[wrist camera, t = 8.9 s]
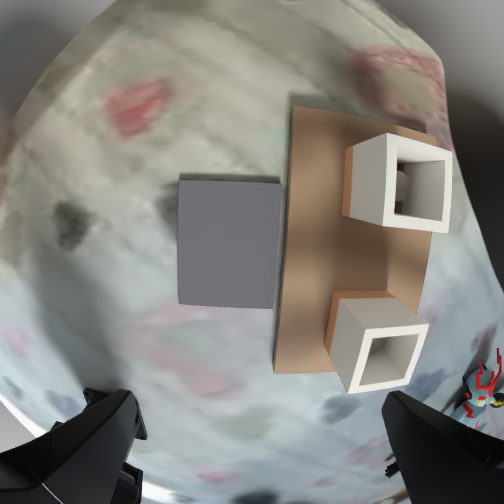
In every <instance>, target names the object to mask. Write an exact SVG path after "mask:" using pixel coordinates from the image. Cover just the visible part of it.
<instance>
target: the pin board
mask: <svg viewBox="0 0 504 504" xmlns="http://www.w3.org/2000/svg"><path fill="white" fill-rule="evenodd" d="M385 133H390V134H394V135H398V136H401V137H405V138H409V139H412V140H416V141H419V142H423V143H426V144H429V145H432V146H435V147H436V137H434V136H431V135H428V134H425V133H422V132H419V131H415V130H412V129H409V128H405V127H402V126H398V125H395V124H391V123H387V122H383V121H379V120H375V119H371V118H366V117H361V116H357V115H352V114H347V113H341V112H336V111H330V110H324V109H317V108H310V107H302V106H293V108H292V110H291V128H290V152H289V173H288V191H287V208H286V223H285V237H284V251H283V263H282V276H281V287H280V298H279V309H278V319H277V329H276V339H275V349H274V358H273V371H274V374H293V373H319V372H334V371H336V369H335V367H334V365H333V363H332V361H331V359H330V357H329V355H328V353H327V351H326V349H325V347H324V342H325V337H326V332H327V326H328V320H329V315H330V308H331V302H332V296H333V291H388V292H389V293H390V294H392V295H393V296H394V297H396V298H397V299H398V300H400V301H401V302H402V303H404V304H405V305H406V306H407V307H409V308H410V309H411V310H413V311H414V312H415V313H417V310H418V306H419V301H420V297H421V293H422V288H423V284H424V279H425V274H426V268H427V263H428V257H429V250H430V243H431V236H432V231H424V230H415V229H406V228H397V227H387V226H381V225H377V224H373V223H370V222H366V221H362V220H358V219H355V218H351V217H347V216H343V215H341V214H342V202H343V186H344V167H345V149H346V148H349V147H351V146H354V145H356V144H359V143H361V142H364V141H366V140H369V139H372V138H374V137H377V136H379V135H382V134H385ZM409 193H410V181H409V179H408V177H407V176H406V175H405V174H404V173H403V172H401V171H397V172H396V192H395V201H403V200H405V199H406V198H407V197H408V195H409ZM385 339H386V337H381V338H373V339H372V343H371V347H370V350H369V352H374V351H376V350H378V349H379V348H381V347H382V345H383V344H384V342H385Z"/></svg>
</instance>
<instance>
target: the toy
mask: <svg viewBox="0 0 504 504" xmlns="http://www.w3.org/2000/svg"><path fill="white" fill-rule="evenodd" d="M478 363H479V368H480V369H477V370H475V371H474V372H472V373H471V374H470V375H469V376H468V378H467V380H466V382H465V380H464V378H463V390H464V392H465V397H466V399H467V400H466V401H464V402H463V403H462V404H461V405H460V406H459V407H458V408H457V409H456V410H455V411H454V412H453V413H452V414H451V415H450V416H449V417H451V418H453V419H455V420H457V421H459V422H461V423H463V424H465V425H467V427H468V426H469V427H471V428H473V429H475V428H476V427H477V426H478V425H479V424H480V423H481V421H482V419H483V416H484V413H485V411H486V405H488V404H489V403H490V405H491V406H492V407H493V408H499V407H502V406H503V405H504V394H503V393H496V394H494V395H492V393H493V391H494V387H495V384H496V382H497V380H498V378H499V376H500V374H501V372H502V361H501V356H499V348H497V364H499V372H498V374H497V376H496V378H495V380H494V379H493V378H494V376H495V375H494V371H493V370H492V373H490V372H489V371H488V370H487V368H486V366H485V364H484V369H482V366H481V363H480V361H478ZM388 471H389V472H388ZM399 471H400V469H399V466H398V464H397V461H396V462H394V463H393V464H391V465H389V466H387V469H386V470H385V472H388V473H386V474H385V475H386V476H388V478H390V477H391V476H393V475H394V474H396V473H397V472H399Z"/></svg>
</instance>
